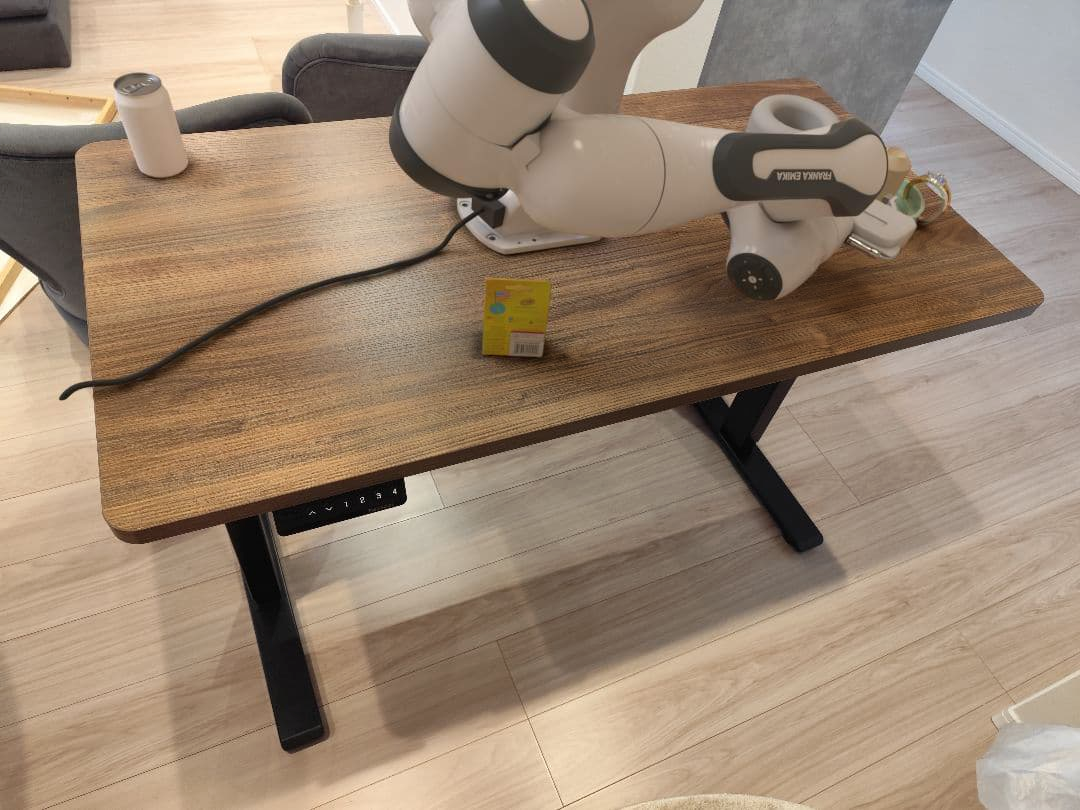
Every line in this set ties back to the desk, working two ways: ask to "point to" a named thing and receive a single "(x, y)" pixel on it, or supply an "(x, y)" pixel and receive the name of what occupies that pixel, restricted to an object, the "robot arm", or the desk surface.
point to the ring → (939, 183)
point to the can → (150, 124)
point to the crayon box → (515, 316)
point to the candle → (895, 171)
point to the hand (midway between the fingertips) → (859, 183)
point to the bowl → (910, 202)
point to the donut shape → (788, 115)
